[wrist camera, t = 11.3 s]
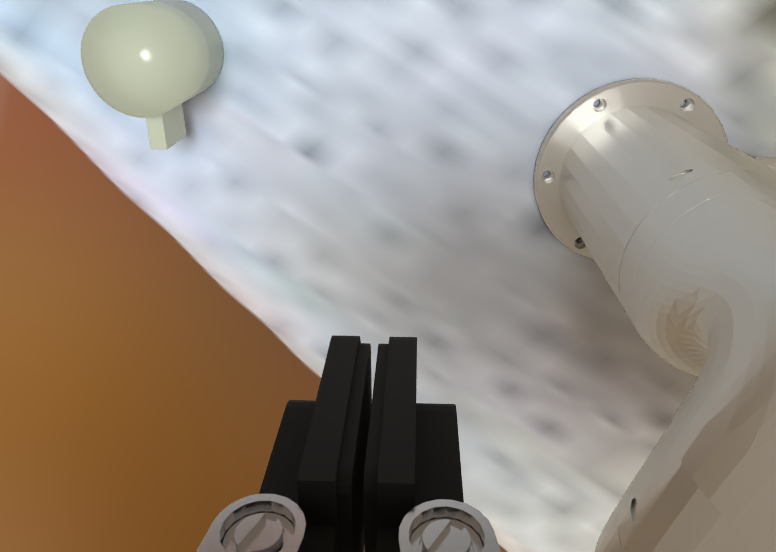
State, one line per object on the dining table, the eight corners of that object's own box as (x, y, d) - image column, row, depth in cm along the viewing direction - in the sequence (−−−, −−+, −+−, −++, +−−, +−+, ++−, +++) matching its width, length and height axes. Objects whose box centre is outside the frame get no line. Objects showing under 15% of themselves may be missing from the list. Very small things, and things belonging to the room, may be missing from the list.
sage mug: (218, -2, 41) (180, 4, 34) (232, 128, 44) (200, 155, 38) (124, -2, 41) (70, 4, 34) (146, 128, 44) (100, 154, 38)
